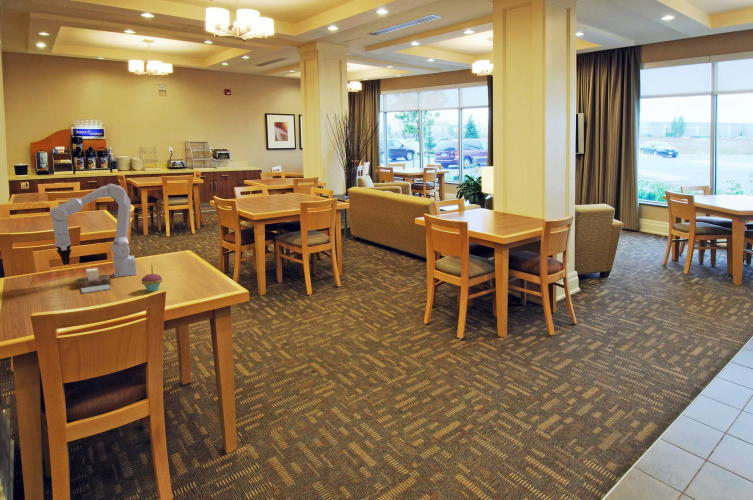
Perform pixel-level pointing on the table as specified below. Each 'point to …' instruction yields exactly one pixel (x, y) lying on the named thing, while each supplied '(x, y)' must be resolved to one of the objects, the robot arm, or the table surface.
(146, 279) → the cupcake
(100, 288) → the grey mat
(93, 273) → the cream block
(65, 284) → the table surface
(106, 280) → the pocket board
